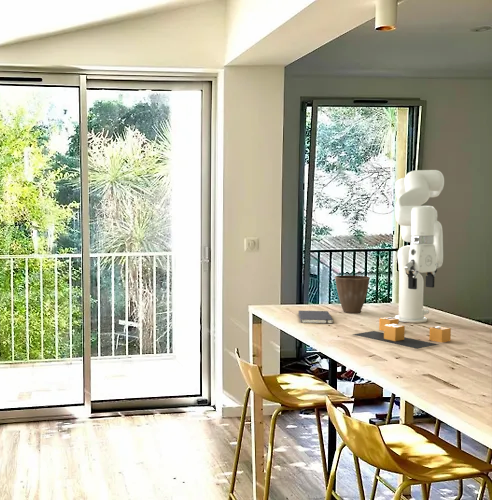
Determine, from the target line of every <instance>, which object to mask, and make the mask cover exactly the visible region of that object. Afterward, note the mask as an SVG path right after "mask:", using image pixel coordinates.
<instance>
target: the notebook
mask: <svg viewBox="0 0 492 500" xmlns="http://www.w3.org/2000/svg"><path fill="white" fill-rule="evenodd" d="M298 317H299V320H300V323H302V324H333V323H334V322H333V320H334V318H332V316H331V314H330V313H329V311H328V310H298Z"/></svg>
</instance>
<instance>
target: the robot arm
mask: <svg viewBox="0 0 492 500" xmlns="http://www.w3.org/2000/svg"><path fill="white" fill-rule="evenodd" d="M444 186H445V177H444V174H443V173H442V172H441V171H440V170H438V169H417V170H416V169H415V170H411V171H409V172H407V173H406V175H405V176H404V177H402V178H401V177H400V178H399V179H397V180H396V181H395V183H394V192H395V193H394V194H395V198H396V201H395V205H394V215H395V216H394V217H395V222H396V223H397V225H399V226H400V234H401V240H402V241H404V242H406V243H410V245H409V244H408V245H403V246H401V247H399V248H398V250H397V253H396V254H397V255H396V257H397V264H398V313H397V314H398V315H394V318H396V319H399V322H401V323H411V324H412V323H413V324H420V323H426V322H428V318H427V317H425V315H429V314H430V310H429V309H424V290H425V289H424V288H425V287H426V288H431V289H432V288H435V277H436V276H437V272H438V269H440V268H441V267H442V266H443V262H444V233H443V225H442V223H441V222H440V221H439V220H438V210H437V209H436V207H434V206H432V205H424V204H426V203H427V202H428V201H429V199H430V198H437V197H439V196H440V194H441V193H442V192H443V189H444ZM424 273H425V274H426V276H425V281H424V277H423V275H422V274H424ZM424 282H425V283H424ZM424 284H425V287H424Z"/></svg>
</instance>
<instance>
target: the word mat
mask: <svg viewBox="0 0 492 500" xmlns="http://www.w3.org/2000/svg"><path fill="white" fill-rule="evenodd" d="M352 336H357V337H362V338H366V339H371V340H375V341H380V342H385V343H387V344H388V343H389V344H392V345H397V346H402V347H407V348H411V349H415V350H418V349H423V348H428V347H429V348H430V347H435V346H438V345H440V344H439V343H435V342H430V341H424V340H420V339H414V338H410V337H405V336H404V340H399V341H392V340H387V339H384V332H382V331H376V330H371V331H365V332H359V333H353V334H352Z"/></svg>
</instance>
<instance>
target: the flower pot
mask: <svg viewBox="0 0 492 500" xmlns="http://www.w3.org/2000/svg"><path fill="white" fill-rule="evenodd" d="M334 281H335V287H336V291H337V296H338V299H339V303H340V306H341V309H342V312H343V313H348V314H358V313H361V311H362V310H363V307H364V304H365V301H366V297H367V295H368V290H369V283H370V276H366V275H356V274H355V275H354V274H353V275H352V274H350V275H349V274H344V275H342V274H341V275H335V276H334Z"/></svg>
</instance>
